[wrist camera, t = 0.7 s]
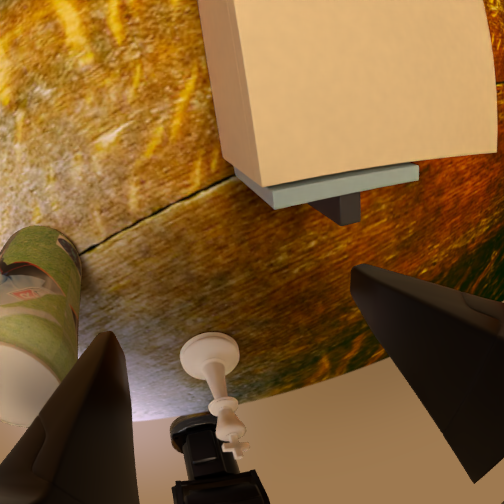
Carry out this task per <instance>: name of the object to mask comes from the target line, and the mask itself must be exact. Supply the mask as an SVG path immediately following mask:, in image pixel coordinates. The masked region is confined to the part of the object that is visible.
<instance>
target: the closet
mask: <svg viewBox="0 0 504 504" xmlns="http://www.w3.org/2000/svg"><path fill="white" fill-rule="evenodd" d="M197 1H198V7H199V14H200V20H201V27H202V33H203V40H204V46H205V52H206V58H207V65H208V71H209V77H210V83H211V89H212V95H213V101H214V107H215V114H216V120H217V125H218V131H219V137H220V143H221V149H222V155H223V158H224V159H225V160H226V161H228V162H229V163H230V164H232V165H233V166H234V167H236V168H237V169H238V170H240V171H241V172H242V173H244V174H245V175H246V176H248V177H249V178H250V179H252V180H253V181H254V182H256V183H257V184H258V185H260V186H261V187H268V186H273V185H278V184H283V183H288V182H293V181H298V180H303V179H308V178H314V177H319V176H325V175H330V174H336V173H342V172H348V171H354V170H360V169H366V168H372V167H379V166H385V165H392V164H399V163H406V162H414V161H421V160H429V159H437V158H445V157H454V156H463V155H473V154H484V153H495V152H497V97H496V82H495V71H494V61H493V53H492V46H491V40H490V33H489V28H488V23H487V18H486V13H485V8H484V4H483V0H197Z"/></svg>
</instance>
